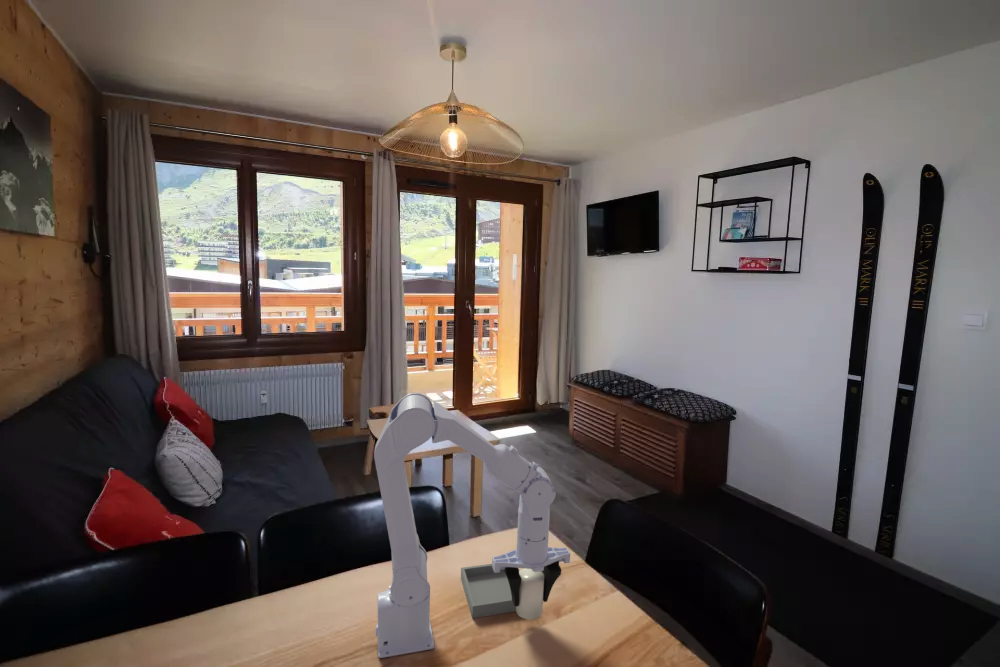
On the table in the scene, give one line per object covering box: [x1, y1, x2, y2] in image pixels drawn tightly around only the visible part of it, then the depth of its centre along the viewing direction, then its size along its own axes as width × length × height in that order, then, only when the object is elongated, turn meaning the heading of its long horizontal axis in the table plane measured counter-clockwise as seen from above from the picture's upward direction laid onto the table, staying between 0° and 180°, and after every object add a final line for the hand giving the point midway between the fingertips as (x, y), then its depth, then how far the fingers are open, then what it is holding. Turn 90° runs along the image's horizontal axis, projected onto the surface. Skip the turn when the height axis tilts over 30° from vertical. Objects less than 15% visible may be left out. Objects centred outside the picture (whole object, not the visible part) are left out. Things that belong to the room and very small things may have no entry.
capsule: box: [515, 568, 544, 621], centre depth 91 cm, size 5×5×7 cm
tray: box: [460, 563, 521, 619], centre depth 100 cm, size 12×12×2 cm
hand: (529, 600), depth 91 cm, fingers closed on capsule, 5 cm apart
